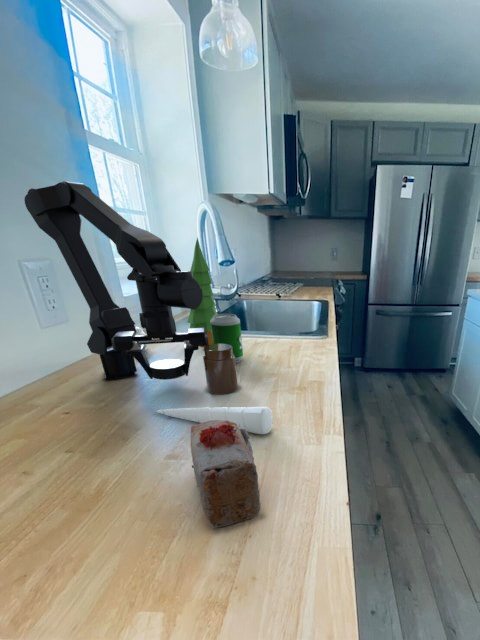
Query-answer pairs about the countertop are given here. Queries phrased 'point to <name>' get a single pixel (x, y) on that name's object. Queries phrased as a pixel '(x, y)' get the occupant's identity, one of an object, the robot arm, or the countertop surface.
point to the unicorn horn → (228, 416)
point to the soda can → (228, 333)
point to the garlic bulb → (140, 332)
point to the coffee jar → (220, 369)
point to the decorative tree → (205, 310)
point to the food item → (225, 472)
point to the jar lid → (167, 369)
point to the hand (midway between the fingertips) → (169, 376)
